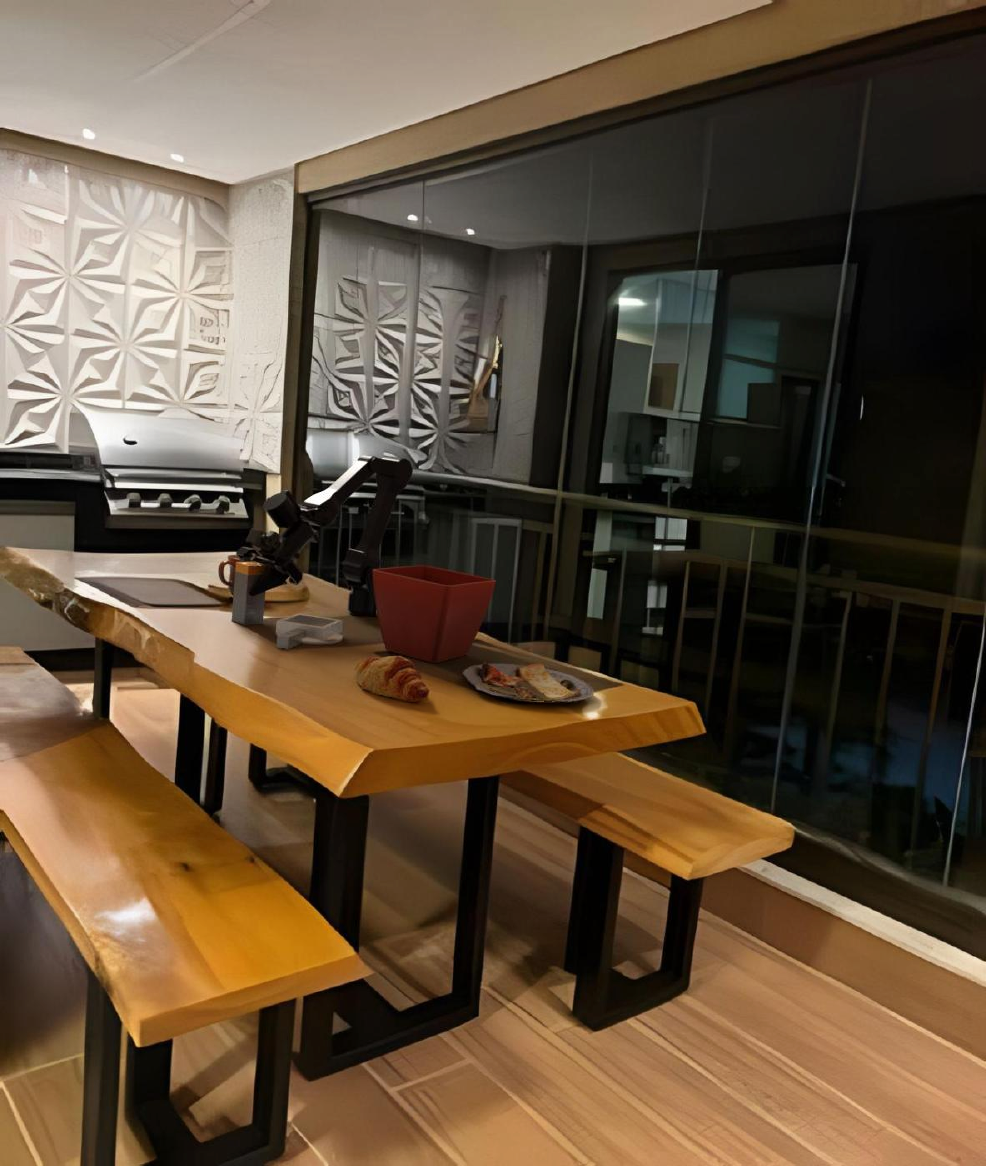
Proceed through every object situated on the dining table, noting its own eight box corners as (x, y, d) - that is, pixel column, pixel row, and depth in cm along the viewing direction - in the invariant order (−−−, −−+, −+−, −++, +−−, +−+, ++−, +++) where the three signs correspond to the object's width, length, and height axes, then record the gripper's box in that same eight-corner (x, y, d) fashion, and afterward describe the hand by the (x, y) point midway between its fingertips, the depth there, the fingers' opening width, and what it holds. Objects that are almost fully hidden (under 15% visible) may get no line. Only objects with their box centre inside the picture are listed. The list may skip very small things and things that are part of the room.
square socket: (292, 626, 214) (293, 610, 214) (351, 636, 211) (353, 620, 211) (249, 643, 194) (250, 626, 194) (315, 653, 191) (316, 636, 191)
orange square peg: (250, 619, 217) (254, 561, 215) (262, 623, 214) (267, 565, 212) (231, 620, 213) (236, 562, 211) (244, 625, 210) (248, 565, 208)
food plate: (449, 670, 190) (451, 652, 190) (559, 675, 198) (561, 658, 197) (486, 711, 167) (489, 691, 166) (609, 715, 174) (612, 696, 174)
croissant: (342, 695, 177) (327, 659, 174) (384, 666, 183) (370, 631, 179) (411, 726, 162) (396, 687, 159) (455, 694, 167) (442, 655, 164)
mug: (245, 594, 246) (248, 554, 245) (268, 600, 241) (271, 559, 239) (206, 597, 236) (209, 555, 235) (228, 603, 231) (232, 561, 230)
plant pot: (489, 657, 206) (498, 579, 204) (439, 670, 190) (448, 585, 187) (416, 639, 216) (423, 564, 213) (362, 650, 199) (370, 569, 197)
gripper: (246, 511, 219) (199, 560, 213) (296, 522, 207) (247, 575, 200) (273, 545, 226) (228, 594, 219) (322, 558, 214) (276, 610, 207)
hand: (244, 592), depth 211 cm, fingers closed on orange square peg, 5 cm apart
